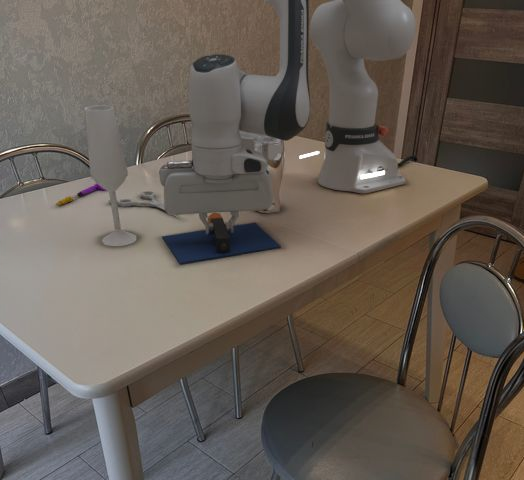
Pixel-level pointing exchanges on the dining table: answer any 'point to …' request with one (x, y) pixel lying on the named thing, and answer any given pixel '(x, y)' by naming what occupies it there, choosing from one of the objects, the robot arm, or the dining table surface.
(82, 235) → the dining table surface
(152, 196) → the scissors
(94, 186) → the purple and yellow rod
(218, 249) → the marker
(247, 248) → the mat
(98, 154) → the champagne flute
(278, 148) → the beer glass
